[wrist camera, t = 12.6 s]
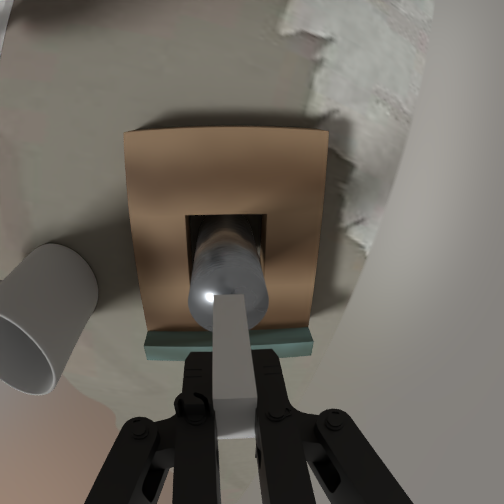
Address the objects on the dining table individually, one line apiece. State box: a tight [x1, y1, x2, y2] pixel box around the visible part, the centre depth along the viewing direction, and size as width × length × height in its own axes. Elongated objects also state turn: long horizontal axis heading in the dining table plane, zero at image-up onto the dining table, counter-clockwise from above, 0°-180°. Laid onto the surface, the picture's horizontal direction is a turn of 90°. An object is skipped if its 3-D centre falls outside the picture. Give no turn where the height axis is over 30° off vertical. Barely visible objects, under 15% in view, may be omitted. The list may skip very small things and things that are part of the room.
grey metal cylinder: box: [188, 214, 269, 332], centre depth 22 cm, size 4×4×10 cm
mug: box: [0, 244, 98, 395], centre depth 21 cm, size 12×8×11 cm
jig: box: [124, 126, 329, 361], centre depth 24 cm, size 18×14×5 cm
